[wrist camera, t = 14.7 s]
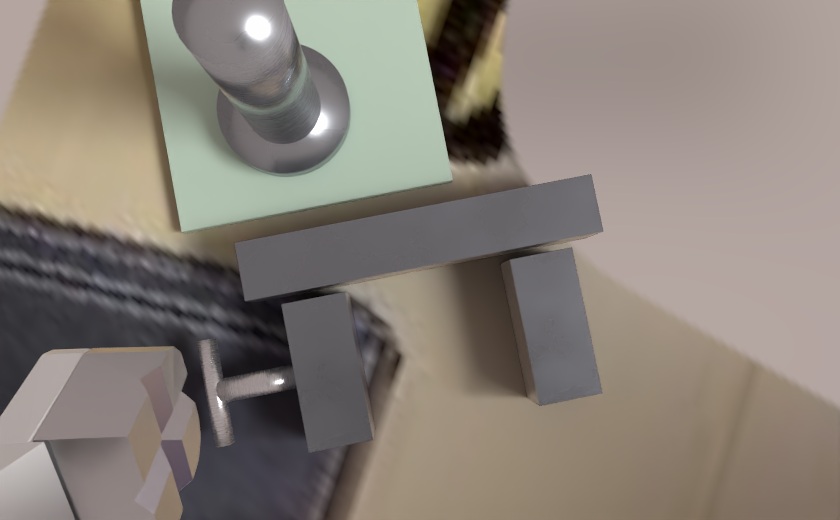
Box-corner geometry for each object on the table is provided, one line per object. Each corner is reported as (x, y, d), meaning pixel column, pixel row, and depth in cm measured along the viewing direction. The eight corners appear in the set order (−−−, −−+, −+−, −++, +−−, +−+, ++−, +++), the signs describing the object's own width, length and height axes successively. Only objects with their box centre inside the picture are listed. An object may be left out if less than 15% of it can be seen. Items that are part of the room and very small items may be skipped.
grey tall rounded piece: (334, 13, 35) (301, -141, 23) (360, 165, 35) (340, 88, 23) (209, 33, 35) (109, -112, 23) (233, 186, 34) (144, 120, 22)
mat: (400, -75, 36) (400, -81, 35) (451, 182, 35) (452, 180, 35) (138, -28, 35) (134, -34, 35) (185, 233, 35) (181, 232, 34)
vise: (575, 185, 35) (591, 174, 32) (616, 379, 35) (636, 386, 32) (192, 259, 35) (172, 254, 32) (228, 458, 34) (211, 472, 31)
